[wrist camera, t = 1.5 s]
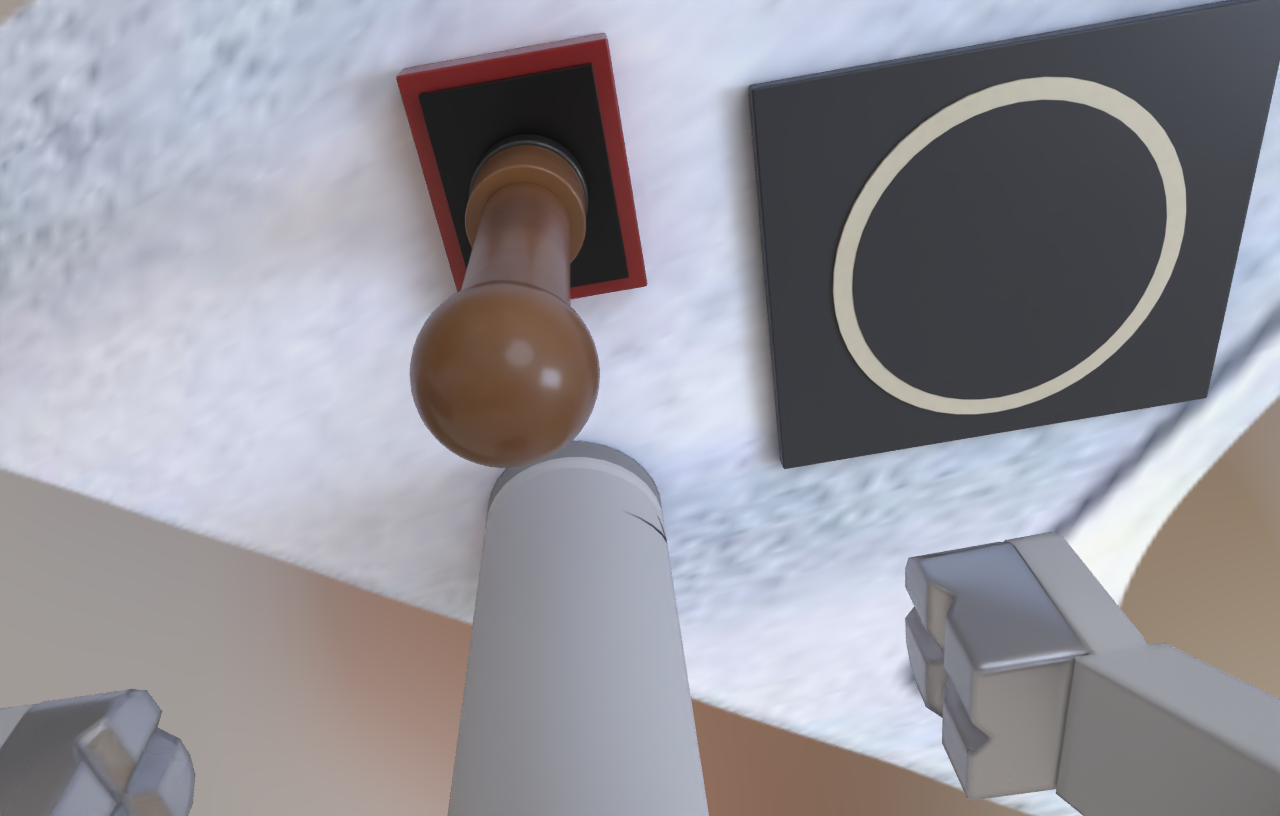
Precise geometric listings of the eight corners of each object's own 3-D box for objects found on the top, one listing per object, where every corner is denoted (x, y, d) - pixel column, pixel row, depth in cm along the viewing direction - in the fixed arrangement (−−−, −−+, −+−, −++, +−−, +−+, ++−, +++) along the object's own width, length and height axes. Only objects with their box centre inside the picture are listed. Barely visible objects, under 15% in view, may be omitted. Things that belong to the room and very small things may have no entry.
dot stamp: (458, 144, 23) (367, 349, 13) (575, 123, 23) (582, 313, 13) (487, 256, 25) (427, 519, 14) (597, 237, 25) (618, 488, 14)
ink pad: (402, 68, 23) (392, 78, 22) (605, 32, 23) (608, 39, 22) (468, 302, 27) (463, 322, 26) (644, 271, 27) (648, 290, 26)
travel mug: (689, 455, 31) (845, 1171, 13) (627, 590, 34) (689, 1315, 16) (518, 409, 29) (446, 1147, 12) (469, 555, 32) (356, 1310, 15)
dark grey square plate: (747, 84, 24) (752, 89, 24) (1280, -10, 24) (1299, -7, 23) (780, 460, 31) (784, 471, 30) (1196, 390, 31) (1210, 400, 30)
